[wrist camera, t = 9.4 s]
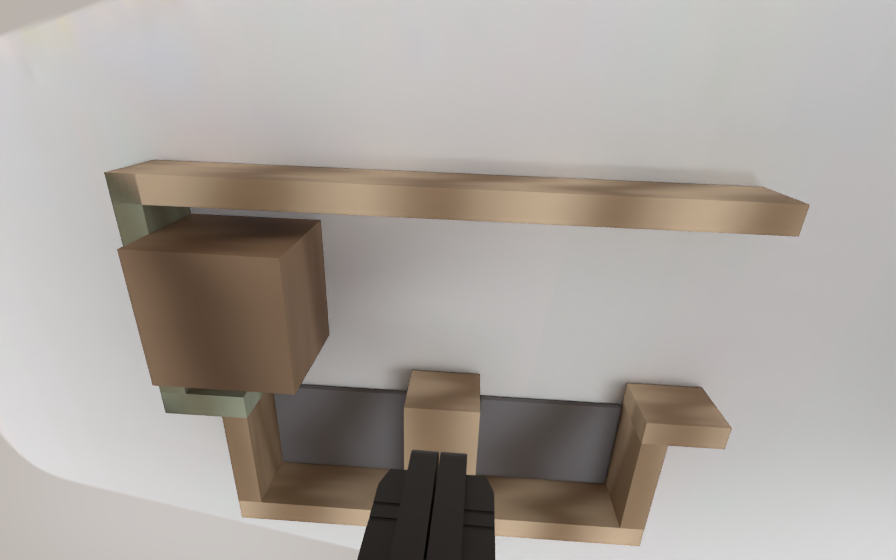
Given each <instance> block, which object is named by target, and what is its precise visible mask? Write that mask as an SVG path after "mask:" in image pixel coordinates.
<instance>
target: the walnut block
mask: <svg viewBox="0 0 896 560" xmlns="http://www.w3.org/2000/svg"><path fill="white" fill-rule="evenodd" d="M117 251H118V254H119V258H120V262H121V266H122V270H123V273H124V277H125V281H126V285H127V289H128V293H129V296H130V300H131V304H132V308H133V312H134V316H135V319H136V323H137V327H138V331H139V335H140V338H141V342H142V346H143V350H144V354H145V358H146V361H147V365H148V369H149V373H150V377H151V381H152V384H153V385H155V386H171V387H186V388H201V389H216V390H232V391H247V392H262V393H277V394H292V395H295V394H296V392H297V390H298V388H299V387H300V385H301V383H302V381H303V380H304V378H305V376H306V374H307V373H308V371H309V369H310V367H311V366H312V364H313V362H314V361H315V359H316V357H317V355H318V354H319V352H320V350H321V348H322V347H323V345H324V343H325V341H326V340H327V338H328V336H329V324H328V311H327V298H326V284H325V271H324V258H323V244H322V231H321V220H307V219H287V218H267V217H247V216H227V215H208V214H190V215H188V216H186V217H184V218H182V219H180V220H178V221H176V222H173V223H171V224H169V225H167V226H165V227H163V228H161V229H159V230H157V231H155V232H153V233H150V234H148V235H146V236H144V237H142V238H140V239H138V240H136V241H134V242H132V243H130V244H127V245H125V246H123V247H121V248H119V249H117Z"/></svg>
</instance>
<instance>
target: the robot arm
mask: <svg viewBox="0 0 896 560" xmlns="http://www.w3.org/2000/svg"><path fill="white" fill-rule="evenodd" d="M466 470H467V454H465V453H453V452H441V454H440V461H439V452H438V451H426V450H413V449H412V451H411V455H410V460H409V465H408V469H407V470H402V469H390V470H389V471H388V472H387V473H386V475H385V476H384V477H383V478H382V480H381V481H380V482H379V483H378V487H377V490H376V494H375V498H374V501H373V505H372V509H371V512H370V516H369V520H368V523H367V527H366V530H365V534H364V538H363V541H362V545H361V548H360V552H359V556H358V560H495V515H494V512H495V510H494V491H493V489H492V487H491V485H490V483H489V481H488V479H487V477H486V476H477V475H466Z"/></svg>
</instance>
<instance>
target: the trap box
mask: <svg viewBox="0 0 896 560" xmlns="http://www.w3.org/2000/svg"><path fill="white" fill-rule="evenodd" d="M104 174H105V177H106V181H107V185H108V189H109V193H110V197H111V201H112V205H113V209H114V213H115V216H116V220H117V224H118V228H119V232H120V236H121V240H122V244H123V246H125V245H127V244H130V243H132V242H134V241H136V240H138V239H140V238H142V237H144V236H146V235H148V234H150V233H153V232H155V231H157V230H159V229H161V228H163V227H165V226H167V225H169V224H171V223H173V222H176V221H178V220H180V219H182V218H184V217H186V216H188V215H190V214H191V213H190V208H189V207H199V208H219V209H240V210H261V211H282V212H302V213H323V214H344V215H365V216H385V217H406V218H427V219H448V220H468V221H489V222H510V223H530V224H551V225H572V226H593V227H613V228H634V229H655V230H676V231H696V232H717V233H738V234H758V235H779V236H799V234H800V231H801V228H802V225H803V222H804V220H805V217H806V214H807V211H808V208H809V204H807V203H804V202H801V201H799V200H796V199H793V198H791V197H788V196H785V195H783V194H780V193H778V192H775V191H772V190H770V189H767V188H764V187H753V186H730V185H708V184H686V183H663V182H641V181H618V180H596V179H573V178H551V177H528V176H506V175H484V174H461V173H439V172H416V171H394V170H371V169H349V168H326V167H304V166H282V165H259V164H237V163H214V162H192V161H169V160H151V161H147V162H143V163H139V164H135V165H131V166H128V167H124V168H120V169H116V170H112V171H108V172H104ZM159 388H160V392H161V396H162V400H163V404H164V408H165V412H166V413H176V414H191V415H207V416H222V418H223V423H224V428H225V433H226V438H227V443H228V449H229V454H230V459H231V464H232V469H233V474H234V479H235V484H236V489H237V494H238V499H239V504H240V509H241V514H242V517H246V518H260V519H274V520H287V521H301V522H315V523H328V524H342V525H356V526H367V523H368V520H369V516H370V512H371V509H372V505H373V501H374V498H375V494H376V490H377V487H378V483H379V482H380V481H381V480H382V478H383V477H384V476H385V475H386V473H387V472H388V471H389V470H390V469H402V470H407V469H408V465H409V460H410V455H411V451H412V449H413V450H426V451H438V452H439V461H440V454H441V452H453V453H465V454H467V470H466V475H477V476H486V477H487V479H488V481H489V483H490V485H491V487H492V489H493V491H494V510H495V512H494V515H495V536H506V537H520V538H534V539H548V540H561V541H575V542H589V543H602V544H616V545H630V546H640V542H641V539H642V535H643V532H644V528H645V525H646V521H647V518H648V514H649V511H650V507H651V504H652V500H653V497H654V493H655V489H656V486H657V482H658V479H659V475H660V472H661V468H662V465H663V461H664V458H665V454H666V451H667V447H668V446H684V447H699V448H715V449H725V447H726V444H727V441H728V438H729V435H730V432H731V429H732V428H731V427H730V425H729V424H728V422H727V421H726V420H725V418H724V417H723V416H722V414H721V413H720V412H719V410H718V409H717V407H716V406H715V405H714V403H713V402H712V401H711V399H710V398H709V396H708V395H707V394H706V392H705V391H704V390H703V388H699V387H682V386H665V385H649V384H632V383H627V386H626V390H625V395H624V399H623V404H622V408H621V407H620V405H619V404H603V403H587V402H571V401H555V400H538V399H522V398H506V397H490V396H481V402H480V374H466V373H450V372H433V371H417V370H412V373H411V377H410V382H409V386H408V391H393V390H377V389H361V388H345V387H329V386H313V385H300V387H299V388H298V390H297V392H296V394H295V395H292V394H277V393H262V392H247V391H232V390H216V389H201V388H186V387H171V386H159ZM275 404H276V405H275ZM620 411H621V413H620ZM619 415H620V417H619ZM618 419H619V422H618ZM617 424H618V426H617ZM616 428H617V431H616ZM615 433H616V435H615ZM614 437H615V439H614ZM280 440H281V441H280ZM613 442H614V444H613ZM612 446H613V448H612ZM611 451H612V453H611ZM610 455H611V457H610ZM609 460H610V462H609ZM608 464H609V466H608ZM607 469H608V471H607ZM606 473H607V475H606ZM605 478H606V480H605Z"/></svg>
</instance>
